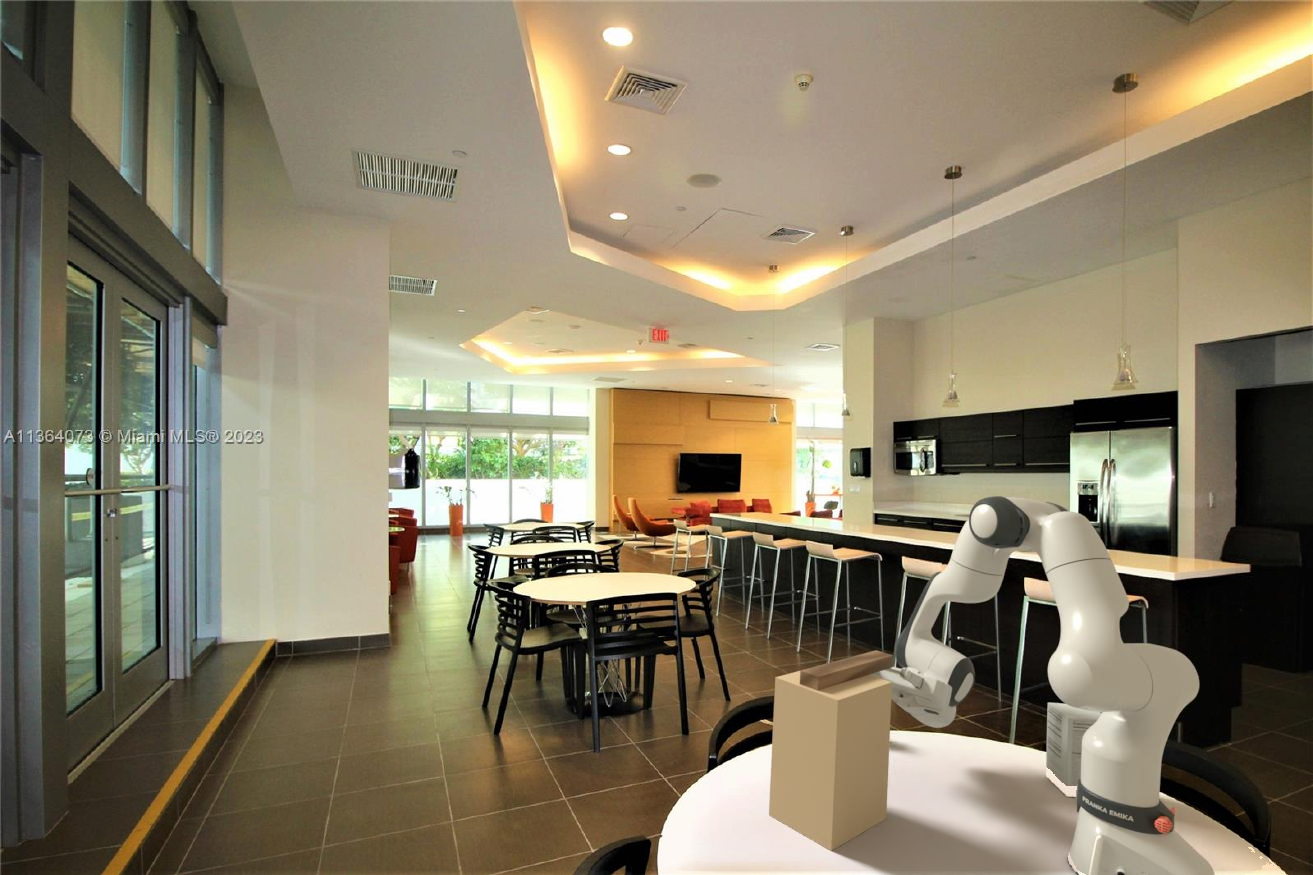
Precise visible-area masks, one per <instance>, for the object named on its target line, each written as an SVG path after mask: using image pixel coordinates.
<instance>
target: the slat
mask: <svg viewBox="0 0 1313 875" xmlns="http://www.w3.org/2000/svg"><path fill="white" fill-rule="evenodd" d="M819 665H820V664H819ZM819 665H816V666H813V667H810V668H809V667H808V668H809V669H808V668H805V669H802V670H799V671H800V684H801V685H803V686H806V687H809V688H812V689H814V690H817V691H818V690H821V689H825V688H828V687H831V686H834V685H837V684H841V683H844V682H847V681H850V680H854V679H857V678H860V677H863V676H867V675H870V674H873V673H876V672H879V671H883V670H886V669H889V668H892V667H894V655H893V654H890V653H888V652H887V653H886V652H882V651H880V650H873V651H868V652H865V653H862V654H861V653H860V654H858V655H853V656H850V657H846V658H843V659H839V660H835V661H831V662H826V663H824V664H821V665H820V666H819Z"/></svg>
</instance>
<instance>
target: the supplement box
mask: <svg viewBox="0 0 1313 875" xmlns="http://www.w3.org/2000/svg"><path fill="white" fill-rule="evenodd" d="M1046 714H1047V716H1046V717H1047V718H1046V757H1045V758H1046V760H1045V762H1046V763H1045V765H1046V766H1045V768H1046V767H1047V768H1048V769H1050V770H1051V771H1052V772H1053V774H1055V776H1056V777H1057V778H1058V779H1059V780H1060V781H1061V782H1062V783H1064V784H1065V785H1066V786H1077V785H1078V779H1081V754H1082V738H1083V735H1084V734H1085V732H1086V731H1087V730H1088V728H1090V727H1091V726H1092V725H1093V724H1094V723H1095V722H1096V721H1097V720H1098V719H1099V717H1100V715H1101V714H1102V712H1095V711H1089V710H1084V709H1080V708H1076V707H1072V706H1069V705H1067V704H1066V703H1059V702H1047V713H1046Z"/></svg>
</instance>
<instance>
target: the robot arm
mask: <svg viewBox="0 0 1313 875" xmlns="http://www.w3.org/2000/svg"><path fill="white" fill-rule="evenodd" d="M968 515H969V517H968V519H967V520H966V521H965V523H964V524H963V526H962V528H961V530H960V532H959V534H958V536H957V539H956V541H955V543H954V546H953V549H952V553H951V556H950V559H949V561H948V563H947V565H946V567H945V568H944V569H943V570H942V571H937V572H935V573H934V574H933V575H932V576H931V577H930V579H929V580H928V581H927V583H926V584H925V587H924V588H923V591H922V593H921V594H920V596H919V598H918V601H917V603H916V604H915V607H914V609H913V612H912V613H911V615H910V617H909V620H908V622H907V623H906V626H905V627H904V628H903V630H902V632H901V633H900V634H899V636H898V637H897V639H896V641H895V643H894V656H895V659H896V662H897V664H898V665H899V667H896V666H893V667H892V668H889V669H886V670H883V671H879V672H876V673H873V674H870V675H871V676H874V677H878V678H881V679H884V680H887V681H890V682H892V694H891V700H892V701H893V702H894V703H895V704H896V705H898V706H899V707H900V708H901V709H903V710H904V711H905V712H906V713H908V714H910V715H911V717H913V718H914V719H916V720H917V721H919V722H920V723H922V724H924V726H925V725H926V726H928V727H931V728H937V729H939V728H944V727H947V726H949V725H950V724H952V722H954V720H955V718H956V716H957V715H956V714H957V706H958V705H960V704H962V703H963V702H964V701H965V700H966V699H967V698H968V697H969V695H970V694H971V692H972V690H973V689H974V686H975V683H976V672H975V667H974V664H973V662H972V660H971V659H970V658H969V657H967V656H965V655H964V654H962V653H961V652H960V651H959V652H958V651H957V650H956V649H954V648H952V647H950V646H948V645H947V644H945V643H944V642H941V641H940V640H939V639H936V638H935V637H934V636H933V634H932V628H933V627H934V624H935V622H936V620H937V619H938V616H939V614H940V612H941V610H942V607H944V605H945V604H946V603H948V602H955V603H963V604H977V603H978V604H979V603H982V602H983V603H984V602H986V601H989V600H991V599H993V598H994V597H995V596H996V595H997V593H998V592H999V591H1000V588H1001V586H1002V582H1003V580H1004V576H1005V572H1006V569H1007V565H1008V561H1009V558H1010V556H1011V555H1012V554H1013V553H1014V552H1021V553H1036V554H1037V555H1038V557H1039V558H1040V559H1039V560H1041V564H1042V567H1043V569H1044V572H1045V575H1046V578H1047V580H1048V583H1049V586H1050V588H1051V591H1052V595H1053V597H1054V602H1055V603H1056V606H1057V610H1058V613H1059V619H1060V637H1059V643H1058V646H1057V647H1056V650H1055V651H1054V652H1053V653H1052V655H1051V657H1050V658H1049V661H1048V665H1047V677H1048V681H1049V684H1050V686H1051V689H1052V691H1053V692H1054V693H1055V695H1056V696H1057V697H1058V698H1059V700H1061V701H1062V702H1063V704H1067V705H1069V706H1072V707H1076V708H1080V709H1084V710H1089V711H1095V712H1100V713H1102V714H1101V715H1100V717H1099V719H1098V720H1097V721H1096V722H1095V723H1094V724H1093V725H1092V726H1091V727H1090V728H1088V730H1087V731H1086V732H1085V734H1084V735H1083V738H1082V754H1081V779H1078V785H1077V790H1076V798H1075V804H1076V812H1077V820H1076V825H1075V830H1074V835H1073V840H1072V841H1071V842H1072V843H1071V845H1070V849H1069V851H1070V856H1071V859H1072V861H1073V863H1074V865H1075V866H1076V869H1077V870H1079V871H1080V872H1082V873H1084V874H1086V875H1216V874H1215V872H1214V871H1215V870H1214V869H1213V867H1212V865H1211V864H1210V862H1209V860H1207V859H1206V858H1204V856H1203V855H1202V854H1201V853H1199V852H1198V851H1197V850H1196V849H1195V848H1194V847H1193V846H1192V845H1191V844H1190V843H1189V842H1188V841H1186V839H1185V838H1183V837H1182V836H1181V835H1180V833H1178V832H1177V831H1176V829H1175V817H1176V814H1175V813H1176V809H1175V807H1174V806H1173V807H1171V809H1169V807H1167V806H1166V805H1165V804H1164V803H1163V802H1162V800H1161V799H1160V791H1161V790H1160V789H1161V788H1160V787H1161V772H1162V760H1163V755H1164V750H1165V746H1166V743H1167V741H1168V738H1169V735H1170V733H1171V731H1172V729H1173V726H1174V724H1175V723H1176V720H1177V718H1178V717H1179V715H1180V713H1181V712H1182V711H1183V709H1185V707H1186V706H1188V705H1189V704H1190V703H1191V702H1192V701H1193V700H1195V698H1196V697H1197V695H1198V693H1199V690H1200V679H1199V678H1200V676H1199V675H1198V672H1197V670H1196V667H1195V665H1194V664H1193V663H1192V661H1191V660H1190V659H1189V658H1188V657H1187V656H1186V655H1185V654H1184V653H1182V652H1180V651H1179V650H1176V649H1174V648H1171V647H1170V648H1169V647H1167V646H1162V645H1157V644H1153V643H1147V642H1145V643H1144V642H1143V643H1142V642H1140V643H1139V642H1137V643H1135V642H1134V643H1133V642H1132V643H1129V642H1127V643H1126V642H1125V643H1124V641H1123V639H1122V637H1121V631H1120V620H1121V617H1123V616H1124V615H1125V614H1126V613H1127V611H1128V610H1129V606H1130V600H1129V597H1128V595H1127V593H1126V590H1125V587H1124V586H1123V582H1122V581H1121V578H1120V576H1119V573H1118V571H1117V569H1116V566H1115V564H1114V562H1113V560H1112V558H1111V556H1110V554H1109V551H1108V550H1107V548H1106V545H1105V544H1104V542H1103V540H1102V539H1101V536H1100V535H1099V534H1098V531H1097V530H1096V529H1095V527H1094V526H1093V524H1092V523H1091V522H1090V520H1089V519H1088V518H1087V517H1086V516H1085V515H1083V514H1082V513H1079V512H1075V511H1069V510H1068V509H1067V508H1066V507H1063V506H1061V505H1060V504H1057V503H1053V502H1049V501H1045V502H1044V501H1040V500H1035V499H1031V498H1027V497H1017V496H1015V497H1014V496H1007V497H1006V496H1005V497H1004V496H1001V495H999V496H998V495H996V496H995V495H994V496H987V497H985V498H984V497H983V498H982V499H981V498H980V500H978V501H976V502H975V503H974V504H973V506H972V507H971V510H970V512H969V514H968ZM900 667H901V668H900Z"/></svg>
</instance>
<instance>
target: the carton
mask: <svg viewBox="0 0 1313 875" xmlns="http://www.w3.org/2000/svg"><path fill="white" fill-rule="evenodd" d="M818 666H820V664H819V665H818ZM807 669H809V667H808V668H807ZM800 671H801V670H798V671H795V672H790V673H787V674H783V675H780V676H779V675H778V676H775V677H774V679H775V680H774V700H773V701H774V702H773V717H772V718H773V721H772V739H771V740H772V741H771V758H770V759H771V760H770V780H769V781H770V782H769V784H770V785H769V805H768V807H769V808H768V815H769V816H770V817H771V818H773V819H775V820H777V821H779V822H780V823H781V824H784V825H785V826H787V827H788V828H791V829H792V830H794V831H796V832H798V833H800V834H801V835H803V836H804V837H806V838H808V839H809V840H811V841H814V843H817V844H818V845H820V846H822V847H824V848H825V849H827V850H828V851H830V852H832V851H834V850H835V849H837V848H839V847H840V846H842V845H843V844H846V843H847V842H849V841H851V840H852V839H855V838H857V836H859V835H861V834H862V833H864V832H866V831H869V829H871V828H873V827H874V826H875V827H876V825H879V823H881V822H883V821H885V820H887V814H888V812H887V811H888V810H887V809H888V806H887V805H888V789H889V788H888V787H889V766H890V765H889V760H890V742H891V741H890V740H891V739H890V737H891V714H892V698H891V694H892V682H890V681H887V680H884V679H881V678H878V677H874V676H871V675H867V676H863V677H860V678H857V679H854V680H850V681H847V682H844V683H841V684H837V685H834V686H831V687H828V688H825V689H821V690H818V691H817V690H814V689H812V688H809V687H806V686H803V685H801V684H800ZM884 819H885V820H884Z"/></svg>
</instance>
